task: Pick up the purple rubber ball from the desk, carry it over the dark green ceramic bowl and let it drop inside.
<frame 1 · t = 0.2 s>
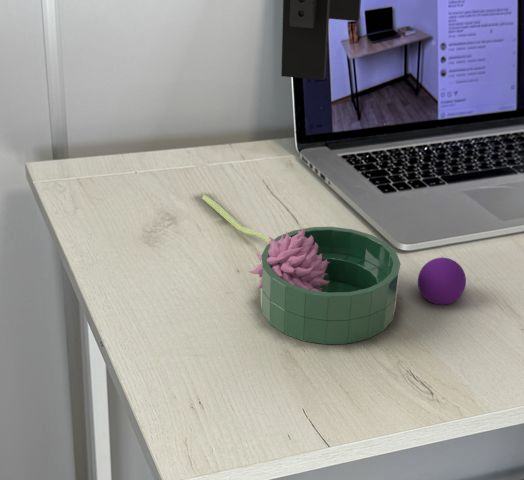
hand: (323, 45, 61), 22 cm above the table, tool pointing down, fingers open, 13 cm apart
artificial flower: (249, 259, 81), touching bowl
bowl: (327, 310, 74), on the table
ball: (441, 281, 75), point 2 cm above the table
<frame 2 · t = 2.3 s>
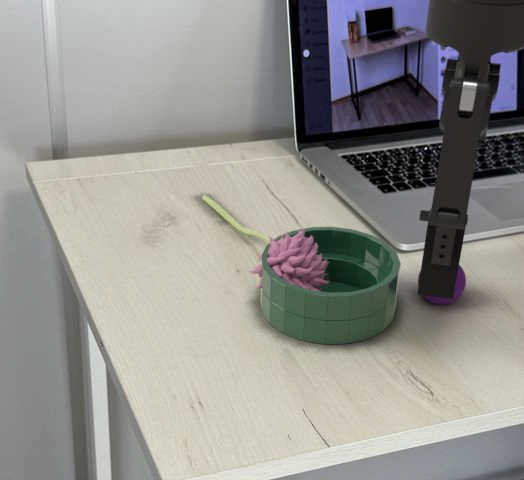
hand: (442, 252, 73), 5 cm above the table, tool pointing down, fingers open, 13 cm apart
nothing on the table moved.
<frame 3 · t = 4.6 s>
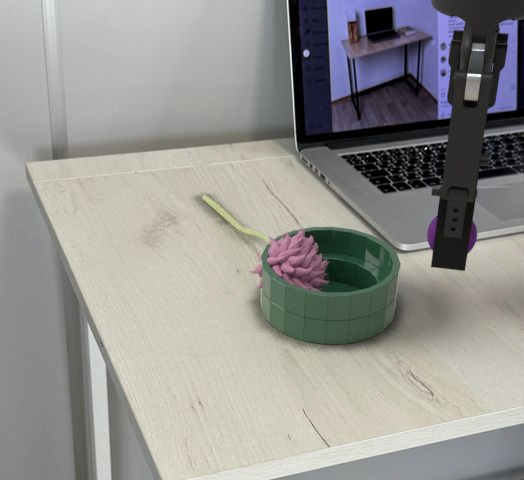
hand: (450, 252, 73), 5 cm above the table, tool pointing down, fingers closed on ball, 4 cm apart
ball: (452, 234, 72), point 6 cm above the table, touching gripper
everything else where it was.
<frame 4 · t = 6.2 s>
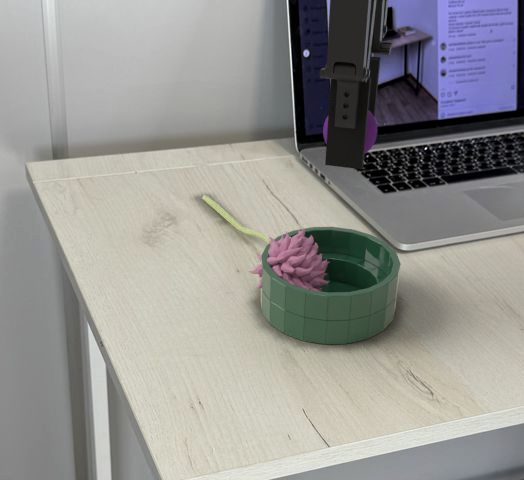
hand: (349, 152, 66), 14 cm above the table, tool pointing down, fingers closed on ball, 4 cm apart
ball: (350, 130, 65), point 16 cm above the table, touching gripper
everything else where it was.
when the fingers open (6 cm above the table, at t = 7.9 s): ball drops 5 cm and tips over, resting on artificial flower, bowl.
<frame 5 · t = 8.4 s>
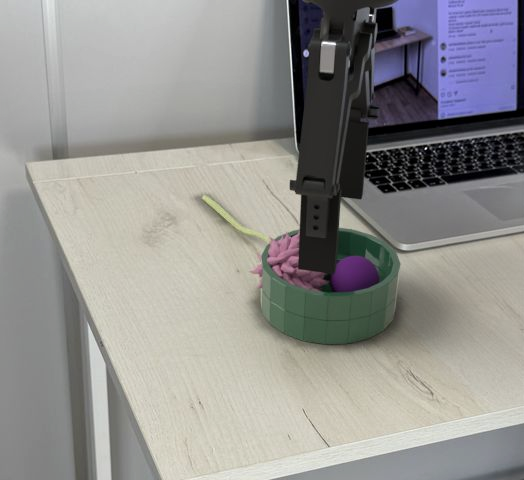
hand: (332, 230, 70), 8 cm above the table, tool pointing down, fingers open, 12 cm apart
artificial flower: (249, 259, 81), touching ball, bowl
ball: (354, 280, 72), point 3 cm above the table, tilted 90°, touching artificial flower, bowl
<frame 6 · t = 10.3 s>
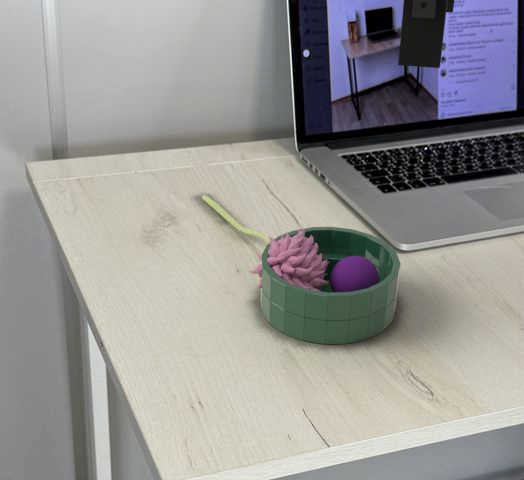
hand: (428, 36, 64), 22 cm above the table, tool pointing down, fingers open, 13 cm apart
nothing on the table moved.
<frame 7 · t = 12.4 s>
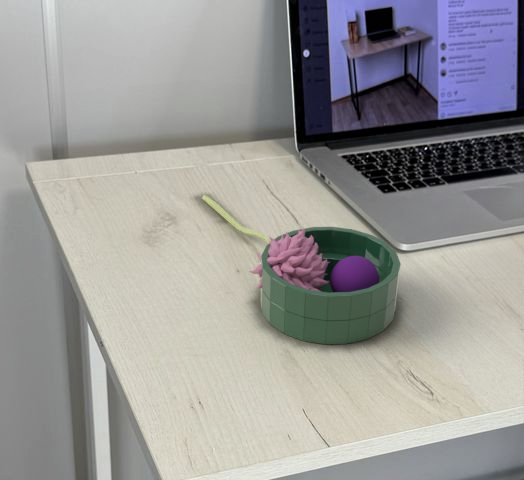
nothing on the table moved.
at the end: ball inside the target area in the bowl (2.1 cm from its centre), point 3.2 cm above the bowl's base; the gripper is holding nothing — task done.
